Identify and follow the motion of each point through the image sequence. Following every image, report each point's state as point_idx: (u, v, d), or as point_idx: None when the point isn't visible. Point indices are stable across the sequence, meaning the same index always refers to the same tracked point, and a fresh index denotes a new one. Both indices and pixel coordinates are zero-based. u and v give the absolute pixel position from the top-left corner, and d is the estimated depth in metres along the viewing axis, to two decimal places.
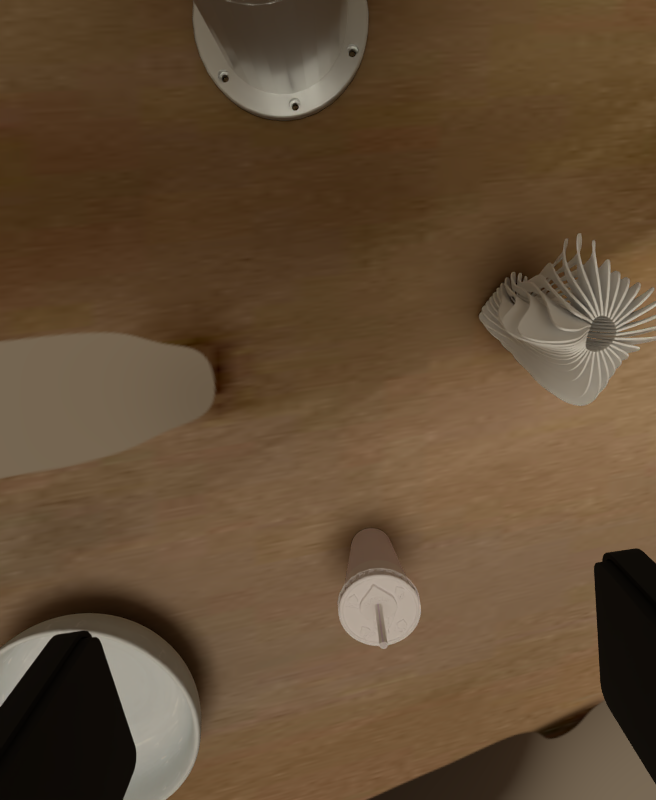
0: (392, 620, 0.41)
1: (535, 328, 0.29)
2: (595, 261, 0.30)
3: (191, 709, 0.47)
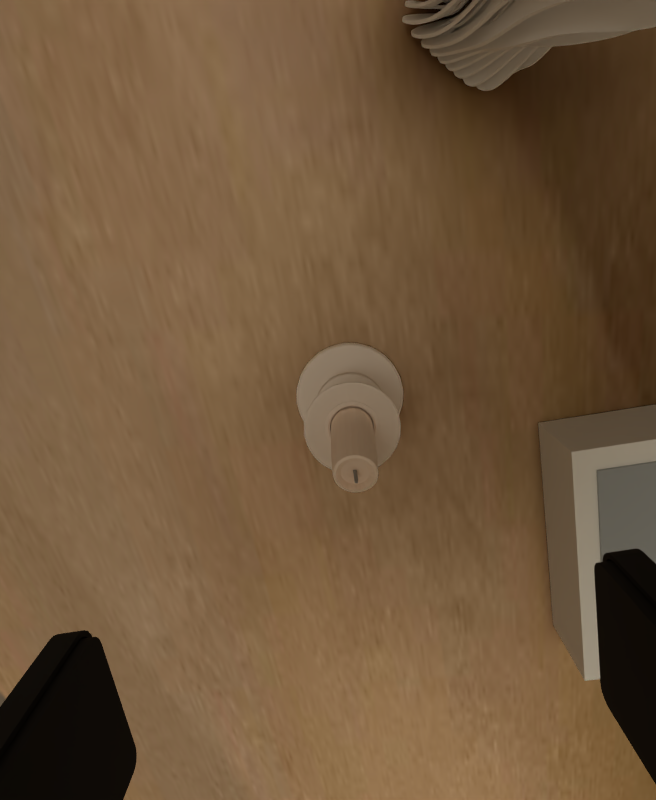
0: None
1: None
2: None
3: None
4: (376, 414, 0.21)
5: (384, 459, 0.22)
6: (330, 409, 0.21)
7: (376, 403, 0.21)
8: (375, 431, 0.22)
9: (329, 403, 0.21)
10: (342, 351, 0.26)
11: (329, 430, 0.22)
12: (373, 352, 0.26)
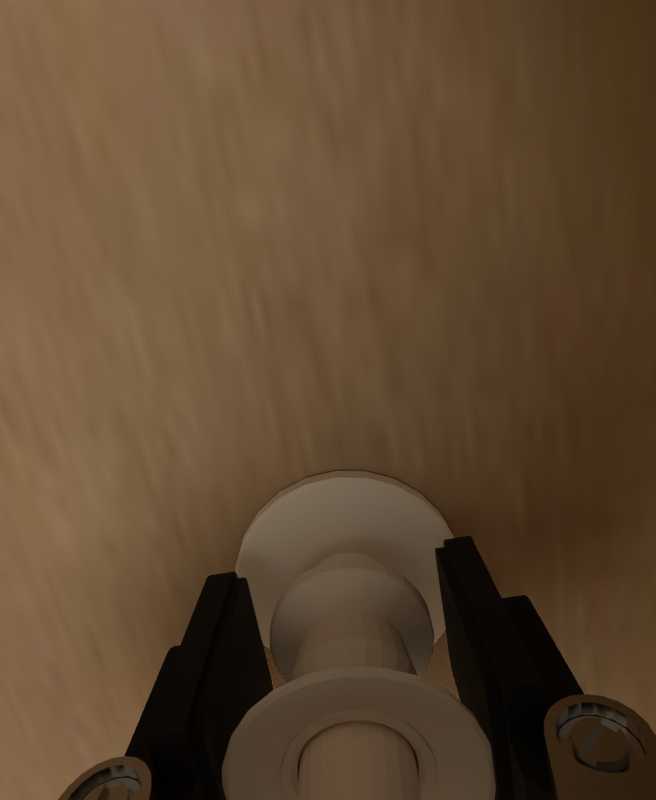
0: None
1: None
2: None
3: None
4: (427, 742, 0.08)
5: None
6: (297, 730, 0.08)
7: (428, 718, 0.07)
8: (423, 782, 0.08)
9: (293, 718, 0.07)
10: (333, 493, 0.12)
11: (295, 777, 0.08)
12: (400, 494, 0.12)
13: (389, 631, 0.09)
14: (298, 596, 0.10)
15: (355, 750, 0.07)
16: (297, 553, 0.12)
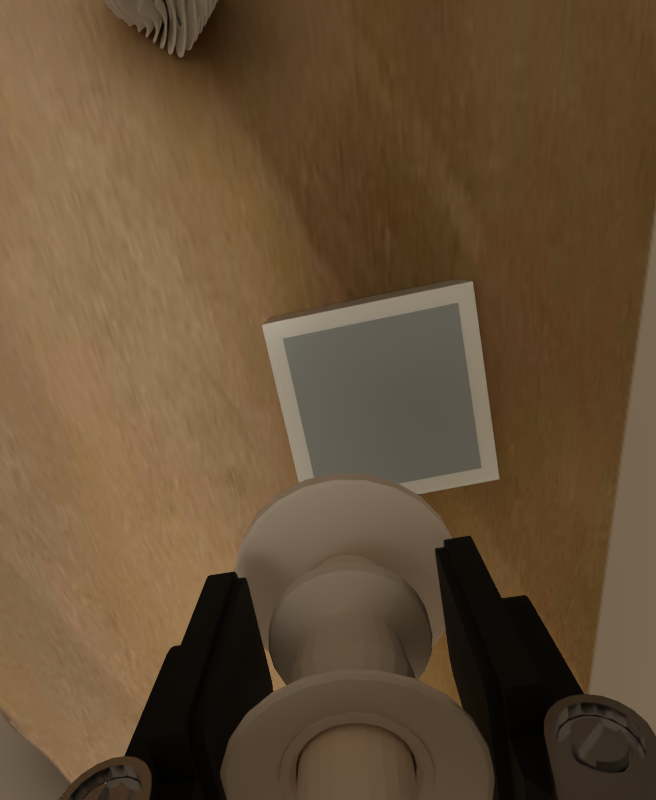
0: None
1: None
2: None
3: None
4: (425, 745, 0.08)
5: None
6: (295, 733, 0.08)
7: (426, 721, 0.07)
8: (421, 784, 0.08)
9: (292, 720, 0.07)
10: (331, 495, 0.12)
11: (293, 780, 0.08)
12: (399, 496, 0.12)
13: (387, 633, 0.09)
14: (297, 598, 0.10)
15: (353, 753, 0.07)
16: (296, 555, 0.12)
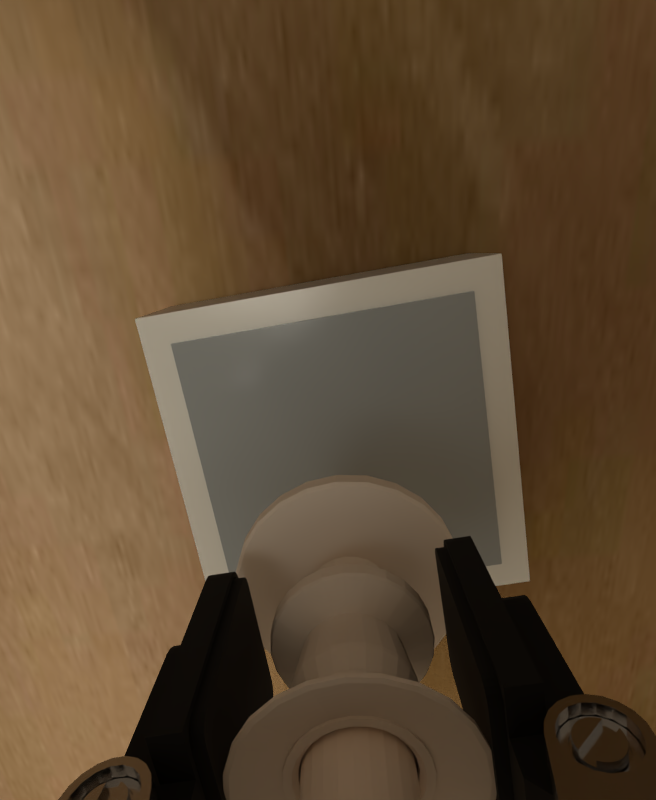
0: None
1: None
2: None
3: None
4: (428, 748, 0.08)
5: None
6: (298, 736, 0.08)
7: (428, 724, 0.07)
8: (424, 787, 0.08)
9: (294, 724, 0.07)
10: (333, 497, 0.12)
11: (296, 783, 0.08)
12: (400, 499, 0.12)
13: (390, 636, 0.09)
14: (299, 601, 0.10)
15: (356, 756, 0.07)
16: (298, 557, 0.12)
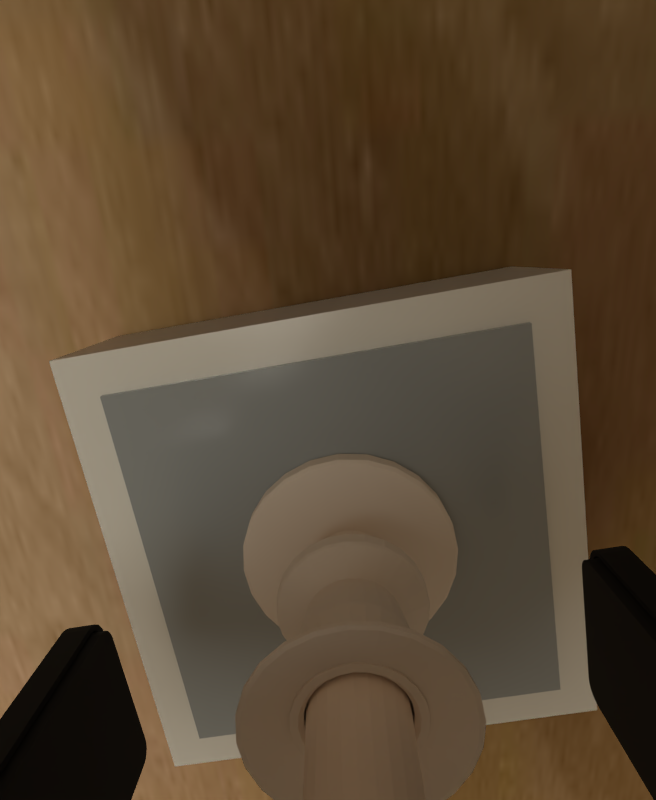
0: None
1: None
2: None
3: None
4: (422, 693, 0.08)
5: (440, 797, 0.09)
6: (303, 681, 0.08)
7: (423, 669, 0.08)
8: (418, 730, 0.09)
9: (301, 669, 0.08)
10: (335, 474, 0.12)
11: (301, 726, 0.09)
12: (398, 475, 0.12)
13: (388, 598, 0.10)
14: (303, 567, 0.11)
15: (357, 697, 0.08)
16: (301, 531, 0.13)
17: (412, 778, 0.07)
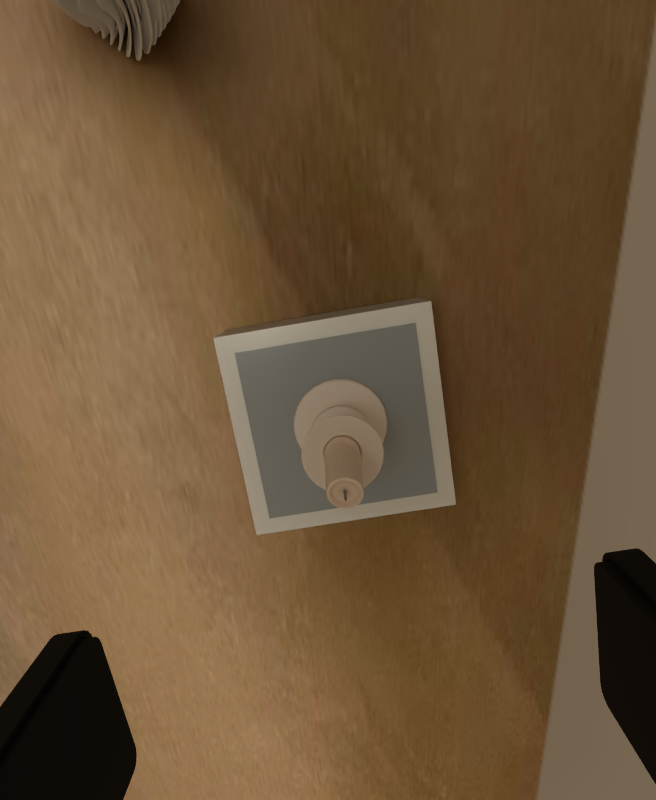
0: None
1: None
2: None
3: None
4: (363, 442, 0.25)
5: (369, 480, 0.26)
6: (324, 438, 0.25)
7: (363, 433, 0.25)
8: (362, 456, 0.26)
9: (323, 432, 0.25)
10: (334, 386, 0.29)
11: (323, 455, 0.26)
12: (361, 386, 0.29)
13: None
14: (321, 416, 0.28)
15: (341, 439, 0.25)
16: (319, 411, 0.30)
17: (357, 453, 0.24)
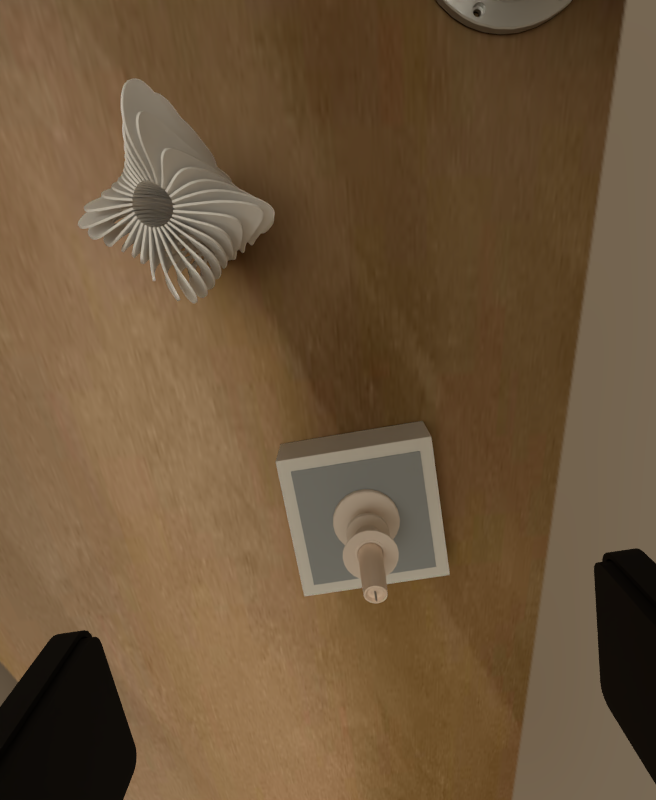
0: None
1: (145, 104, 0.24)
2: (235, 201, 0.27)
3: None
4: (384, 547, 0.37)
5: (389, 572, 0.38)
6: (358, 544, 0.37)
7: (384, 541, 0.37)
8: (384, 556, 0.37)
9: (357, 541, 0.37)
10: (362, 495, 0.41)
11: (357, 555, 0.37)
12: (381, 496, 0.41)
13: (377, 529, 0.39)
14: (354, 522, 0.40)
15: (370, 546, 0.37)
16: (351, 513, 0.42)
17: (381, 558, 0.36)
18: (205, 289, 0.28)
